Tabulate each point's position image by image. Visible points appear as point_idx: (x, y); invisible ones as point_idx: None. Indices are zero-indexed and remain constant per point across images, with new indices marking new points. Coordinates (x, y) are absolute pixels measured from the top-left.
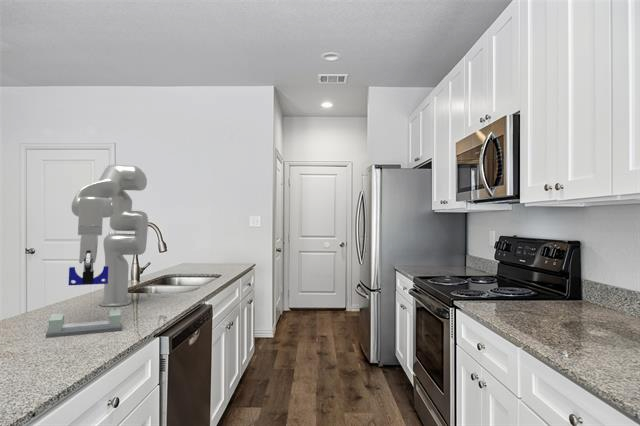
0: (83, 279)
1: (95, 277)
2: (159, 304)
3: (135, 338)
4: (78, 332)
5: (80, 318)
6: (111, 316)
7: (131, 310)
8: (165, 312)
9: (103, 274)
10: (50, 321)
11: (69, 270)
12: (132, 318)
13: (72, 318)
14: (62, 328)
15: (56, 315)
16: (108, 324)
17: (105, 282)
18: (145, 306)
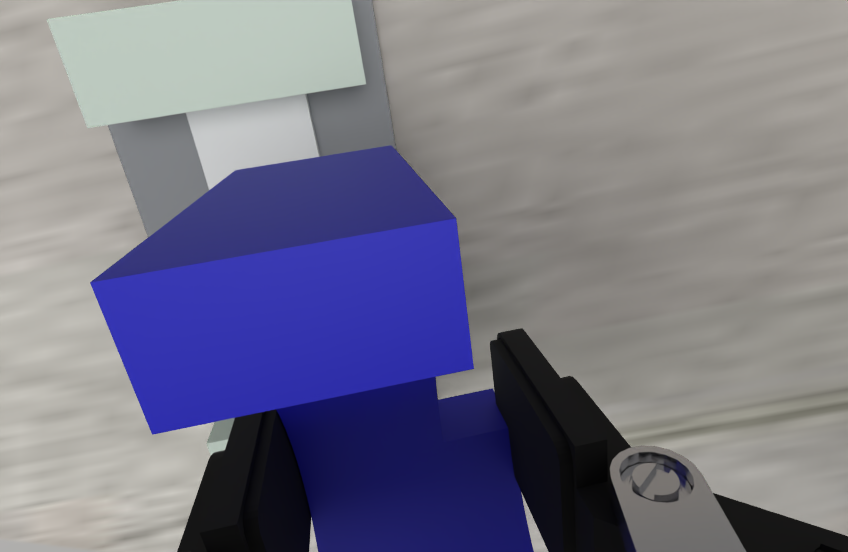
0: (240, 432)
1: (476, 525)
2: (818, 507)
3: (55, 533)
4: (150, 233)
5: (623, 138)
6: (210, 451)
7: (730, 399)
8: None
9: None
10: (57, 36)
11: (135, 262)
12: None
13: (643, 80)
14: (190, 117)
15: (273, 36)
16: None
17: None
18: (802, 450)
